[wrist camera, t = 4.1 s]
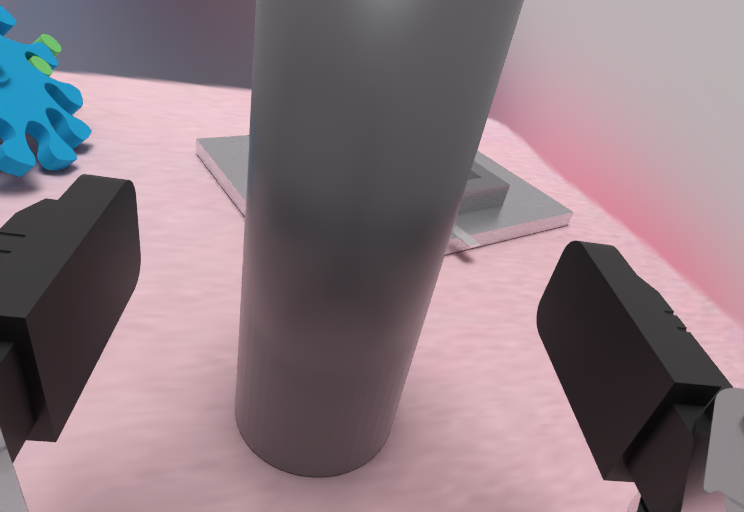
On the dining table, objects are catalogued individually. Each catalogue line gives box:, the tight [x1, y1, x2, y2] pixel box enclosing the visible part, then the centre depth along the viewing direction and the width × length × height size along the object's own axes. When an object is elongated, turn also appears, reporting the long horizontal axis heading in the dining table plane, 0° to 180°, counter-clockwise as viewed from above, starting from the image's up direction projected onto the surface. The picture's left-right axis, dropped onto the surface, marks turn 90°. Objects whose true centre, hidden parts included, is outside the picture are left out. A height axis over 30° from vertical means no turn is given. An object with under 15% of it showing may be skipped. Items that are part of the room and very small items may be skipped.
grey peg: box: [235, 0, 524, 477], centre depth 12 cm, size 5×5×13 cm
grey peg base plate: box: [196, 135, 573, 255], centre depth 27 cm, size 16×13×2 cm
